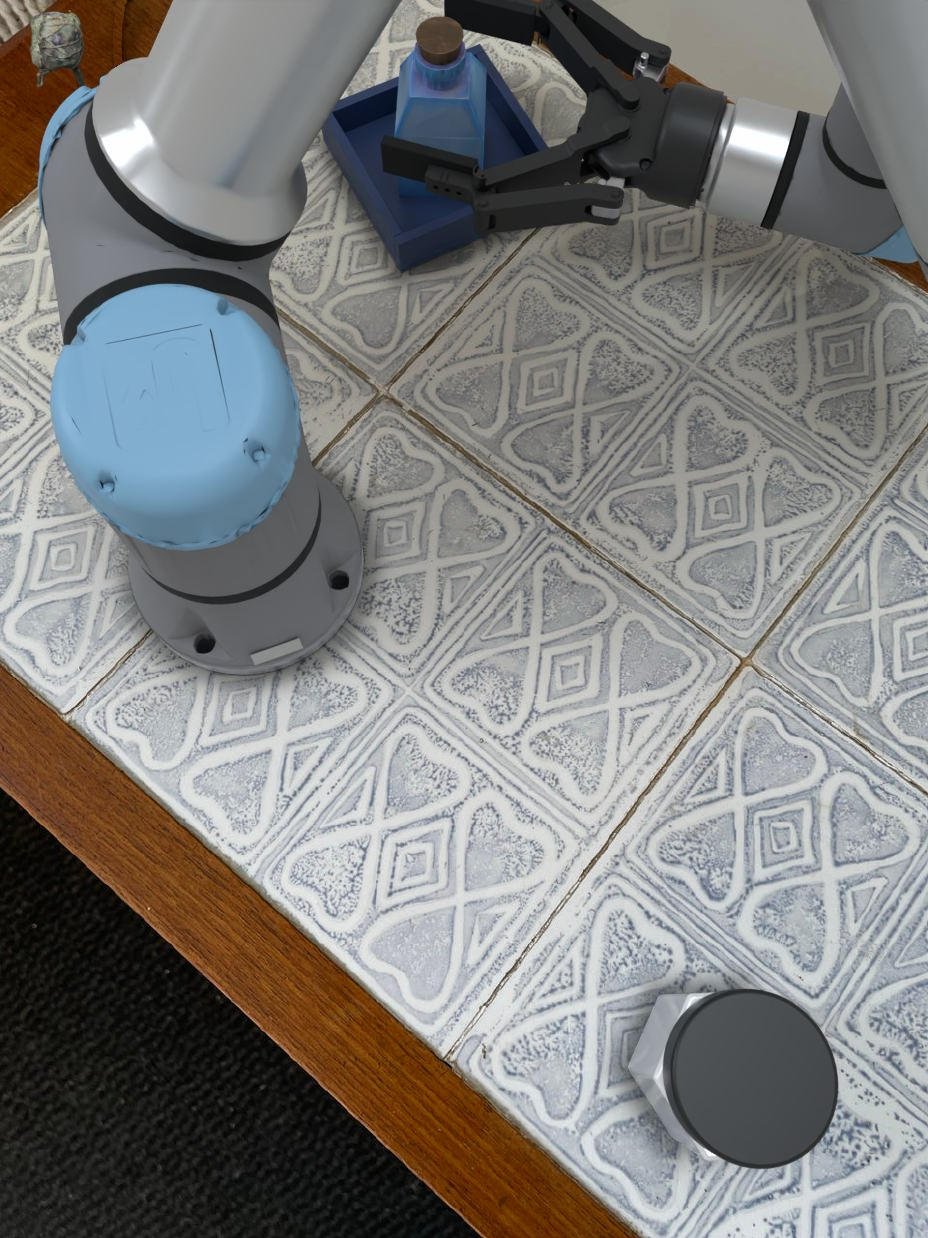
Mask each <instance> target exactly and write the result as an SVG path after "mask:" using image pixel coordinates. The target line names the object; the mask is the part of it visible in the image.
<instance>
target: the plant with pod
mask: <svg viewBox="0 0 928 1238" xmlns="http://www.w3.org/2000/svg"><path fill="white" fill-rule="evenodd" d="M29 22H30V23H29V24H30V29H31V41H30V46H29V50H30V56H31V62H32V64H33V65H34V66H35V67H36V68H37V69H38V72H37V73H36V77H37V80H36V86H37V88H41V87H42V86H43V85H44V83H45V77H46V76H47V75H48V74H50V73H53V72H54V71H57V70H60V69H65V70H71V71H72V74H73V75H74V77H75V79H76V82H77V83H78V86H79V88H80V87H82V86H86V87H88V85H87V83H86V81H85V77H84V74H83V72H82V69H81V68H80V66H79V65H80V64H81V63H82V60H83V54H84V52H85V43H84V41H83V40H84V39H83V38H84V37H83V32H82V24H81V20H80V18H79V17H78V15H77V14H76V13H74V12H70V13H65V12H60V11H46V12H41V13H39V14H38V15H33V16H32V17H31V18H30V21H29Z"/></svg>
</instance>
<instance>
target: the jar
mask: <svg viewBox="0 0 928 1238" xmlns="http://www.w3.org/2000/svg"><path fill="white" fill-rule="evenodd" d="M627 1070H628V1071H629V1073H630V1075H631V1076H632V1078H633V1080H634V1081H635V1082H636V1084H637V1085H638V1087H639V1089H640V1090H641V1091H642V1093H643V1095H644V1096H645V1098H646V1100H647V1101H648V1103H649V1104H650V1106H651V1107H652V1109H653V1111H654V1112H655V1114H656V1116H657V1117H658V1118H659V1120H660V1122H661V1123H662V1125H663V1126H664V1128H665V1129H666V1131H667V1132H668V1135H670V1137H671V1138H672V1140H675V1141H676V1142H678V1143H679V1144H681V1145H682V1146H684V1147H685V1148H687V1149H688V1150H689V1151H691V1152H693V1153H694V1154H696V1155H697V1156H699V1157H700V1158H702V1159H704V1160H705V1161H707V1162H716V1161H717V1162H718V1161H719V1162H720V1161H725V1162H728V1163H729V1164H732V1165H735V1166H738V1167H742V1168H747V1169H753V1170H770V1169H776V1168H780V1167H781V1168H782V1167H784V1166H787V1165H790V1164H793V1163H794V1162H796V1161H798V1160H800V1159H802V1158H803V1157H804V1156H806V1155H807V1154H809V1153H810V1152H811V1151H812V1150H814V1148H816V1146H817V1145H818V1144H819V1143H820V1142H821V1141H822V1139H823V1138H824V1136H825V1135H826V1134H827V1131H828V1130H829V1128H830V1126H831V1124H832V1122H833V1119H834V1117H835V1113H836V1110H837V1104H838V1101H839V1100H838V1099H839V1073H838V1067H837V1063H836V1060H835V1056H834V1052H833V1050H832V1048H831V1046H830V1044H829V1041H828V1039H827V1037H826V1035H825V1034H824V1032H823V1031H822V1029H821V1028H820V1026H819V1025H818V1024H817V1022H816V1021H815V1020H814V1019H813V1018H812V1016H810V1015H809V1013H807V1012H806V1011H805V1010H804V1009H803V1008H801V1007H800V1006H799V1005H797V1004H796V1003H794V1002H793V1001H792V1000H790V999H788V998H786V997H785V996H782V995H781V994H780V993H779V992H778V991H777V990H775V989H758V988H730V989H723V990H718V991H716V990H715V991H697V992H695V991H694V992H679V993H678V992H677V993H660V994H659V995H658V996H657V998H656V1000H655V1003H654V1005H653V1007H652V1010H651V1012H650V1014H649V1016H648V1019H647V1021H646V1023H645V1026H644V1028H643V1030H642V1032H641V1035H640V1036H639V1039H638V1042H637V1044H636V1046H635V1048H634V1051H633V1053H632V1055H631V1058H630V1060H629V1062H628V1065H627Z"/></svg>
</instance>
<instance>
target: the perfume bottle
mask: <svg viewBox="0 0 928 1238" xmlns="http://www.w3.org/2000/svg"><path fill="white" fill-rule="evenodd" d="M464 37H465V34H464V30H463V29H462V27H461V26H460V24H459V23H457V22H456V21H455V20H453V19H451V18H449V17H444V15H443V16H442V15H438V16H432V17H429V18H426V19H424V20H423V21H422V22H420V24H419V25H418V26H417V27H416V31H415V40H416V41H415V44H414V47H413V48H414V49H413V50H412V51H411V52H410V53H409V55H408V56H406V58H405V59H404V60H403V61H402V62H401V64H400V65H399V72H398V76H399V83H398V97H397V110H396V123H395V138H399V139H403V140H406V141H410V142H414V143H418V144H422V145H426V146H429V147H433V148H437V149H441V150H445V151H448V152H452V153H456V154H460V155H464V156H468V157H471V158H475V159H478V164H479V167H480V168H481V170H482V171H483V161H484V138H485V106H486V71H487V69H486V68H485V67H484V66H483V65H482V64H481V63H480V62H479V60H478V59H477V58H476V57H475V56H474V55H473V54H472V53H469V52H466V49H467V48H466V44H465V42H464ZM398 188H399V196H407V197H434V198H447V197H443V196H440V195H436V194H432V193H430V192H429V191H427V190H426V189H425V183H423V182H419V181H415V180H411V179H407V178H404V177H400V176H398Z"/></svg>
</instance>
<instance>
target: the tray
mask: <svg viewBox="0 0 928 1238" xmlns="http://www.w3.org/2000/svg"><path fill="white" fill-rule="evenodd" d="M466 52H469V53H472V54H473V55H474V56H475V57H476V58H477V59H478V60H479V62H480V63H481V64H482V65H483V66H484V67H485V68H486V69H487V71H486V106H485V138H484V161H483V170H486V169H489V168H492V167H495V166H498V165H500V164H503V163H506V162H509V161H512V160H515V159H518V158H521V157H524V156H527V155H530V154H533V153H536V152H539V151H542V150H545V149H548V148H550V147H549V146H548V144H547V143H546V141H545V140H544V138H543V136H542V135H541V133H540V132H539V130H538V129H537V127H536V126H535V125H534V123H533V121H532V120H531V119H530V117H529V115H528V114H527V112H526V111H525V109H524V108H523V107H522V105H521V104H520V102H519V100H518V99H517V97H516V96H515V94H514V93H513V91H512V90H511V89H510V86H509V85H508V84H507V82H506V81H505V79H504V78H503V76H502V74H501V73H500V72H499V70H498V69H497V67H496V66H495V64H494V62H493V61H492V60H491V58H490V56H489V55H488V54H487V51H486V50H485V49H484V47H483V46H482V44H481V43H478V44H476V45H472V46H471V47H468V48H466ZM398 83H399V75H398V76H396V77H393V78H391V79H388V80H385V81H382V82H381V83H378V84H376V85H374V86H371V87H368V88H365V89H363V90H361V91H358V92H356V93H353V94H350V95H348V96H346V97H343V98H340V100H339V101H338V103H337V105H336V106H335V108H334V109H333V111H332V113H331V114H330V116H329V117H328V119H327V121H326V122H325V124H324V125H323V127H322V129H321V134H322V140H323V142H324V144H325V146H326V148H327V149H328V150H329V153H330V154H331V156H332V158H333V159H334V161H335V163H336V164H337V167H338V168H339V170H340V171H341V173H342V175H343V176H344V178H345V180H346V182H347V183H348V185H349V187H350V189H351V190H352V192H353V193H354V196H355V197H356V199H357V201H358V202H359V204H360V206H361V208H362V209H363V210H364V213H365V214H366V216H367V218H368V219H369V221H370V223H371V224H372V226H373V228H374V229H375V231H376V234H377V235H378V237H379V238H380V240H381V242H382V243H383V245H384V246H385V248H386V250H387V251H388V253H389V255H390V257H391V259H392V260H393V262H394V264H395V265H396V268H397V269H398V270H399V272H400V273H405V272H407V271H408V270H411V269H413V268H416V267H418V266H420V265H423V264H425V263H427V262H430V261H433V260H434V259H436V258H439V257H441V256H444V255H446V254H448V253H451V252H452V251H453V252H454V251H455V250H457V249H460V248H462V247H464V246H467V245H469V244H472V243H474V242H476V241H479V240H481V239H483V238H485V237H487V236H490V235H491V234H486V235H480V234H477V233H476V232H475V231H474V222H473V209H472V207H471V206H470V205H469V204H468V203H465V202H462V201H458V200H455V199H451V198H434V197H407V196H399V188H398V176H396V175H392V174H389V173H385V172H383V165H382V154H381V141H382V139H383V136H384V135H387V136H391V137H395V123H396V110H397V97H398ZM562 185H566V184H565V183H563V184H560V185H557V186H562Z"/></svg>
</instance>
